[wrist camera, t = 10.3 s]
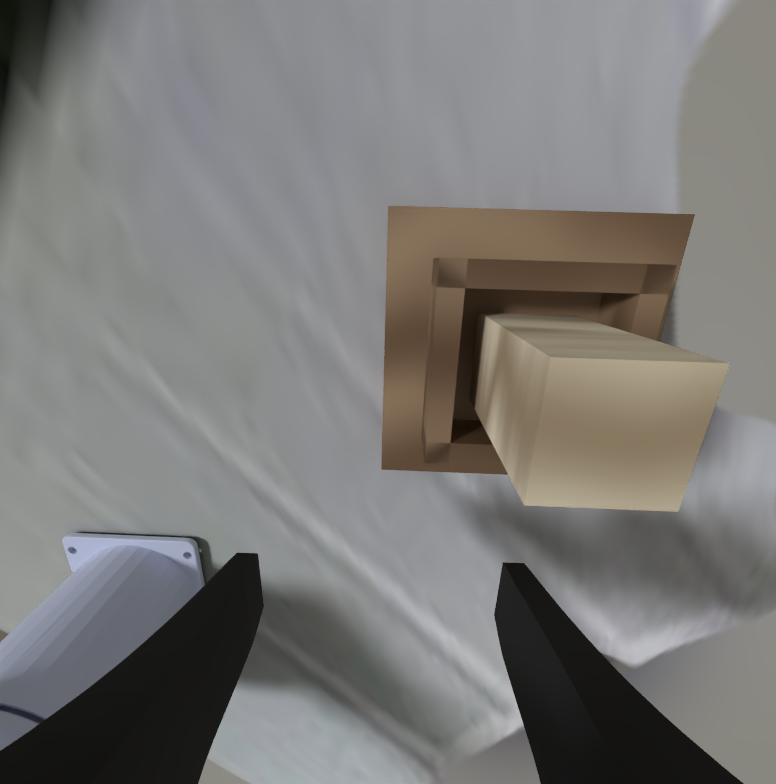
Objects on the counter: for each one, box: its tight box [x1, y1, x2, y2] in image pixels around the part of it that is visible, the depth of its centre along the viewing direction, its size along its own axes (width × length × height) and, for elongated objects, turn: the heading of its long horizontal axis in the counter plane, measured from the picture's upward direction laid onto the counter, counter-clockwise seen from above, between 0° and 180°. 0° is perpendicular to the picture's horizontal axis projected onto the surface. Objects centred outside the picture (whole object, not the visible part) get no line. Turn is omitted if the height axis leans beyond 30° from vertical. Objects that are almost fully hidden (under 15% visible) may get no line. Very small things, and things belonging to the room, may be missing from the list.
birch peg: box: [469, 312, 730, 512], centre depth 13 cm, size 4×4×8 cm
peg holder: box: [382, 206, 695, 474], centre depth 16 cm, size 12×12×4 cm
